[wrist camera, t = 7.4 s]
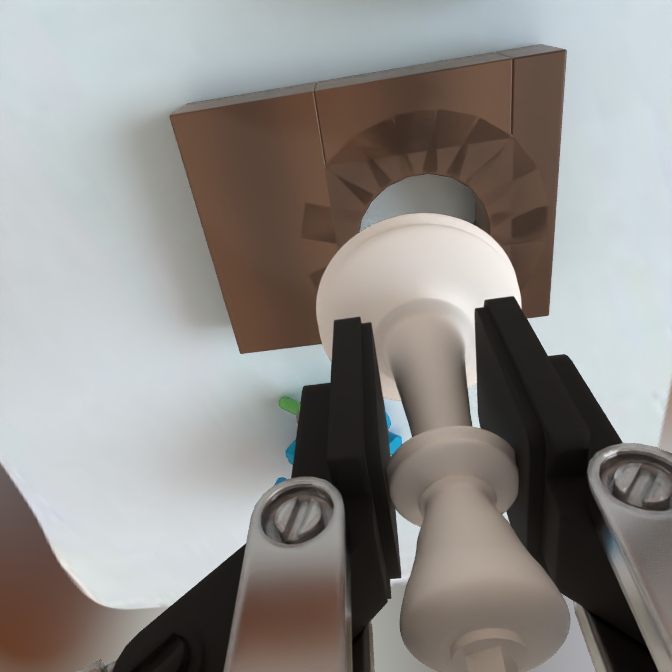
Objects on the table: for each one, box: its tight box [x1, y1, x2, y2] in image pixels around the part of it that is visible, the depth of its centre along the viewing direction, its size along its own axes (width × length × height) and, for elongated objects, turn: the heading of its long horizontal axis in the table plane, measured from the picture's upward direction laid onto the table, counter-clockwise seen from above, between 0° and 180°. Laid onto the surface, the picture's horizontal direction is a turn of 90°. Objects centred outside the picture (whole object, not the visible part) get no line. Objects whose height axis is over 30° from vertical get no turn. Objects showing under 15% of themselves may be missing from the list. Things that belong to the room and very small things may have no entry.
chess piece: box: [316, 213, 570, 672], centre depth 9 cm, size 5×5×10 cm
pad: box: [170, 44, 567, 354], centre depth 26 cm, size 16×13×3 cm
